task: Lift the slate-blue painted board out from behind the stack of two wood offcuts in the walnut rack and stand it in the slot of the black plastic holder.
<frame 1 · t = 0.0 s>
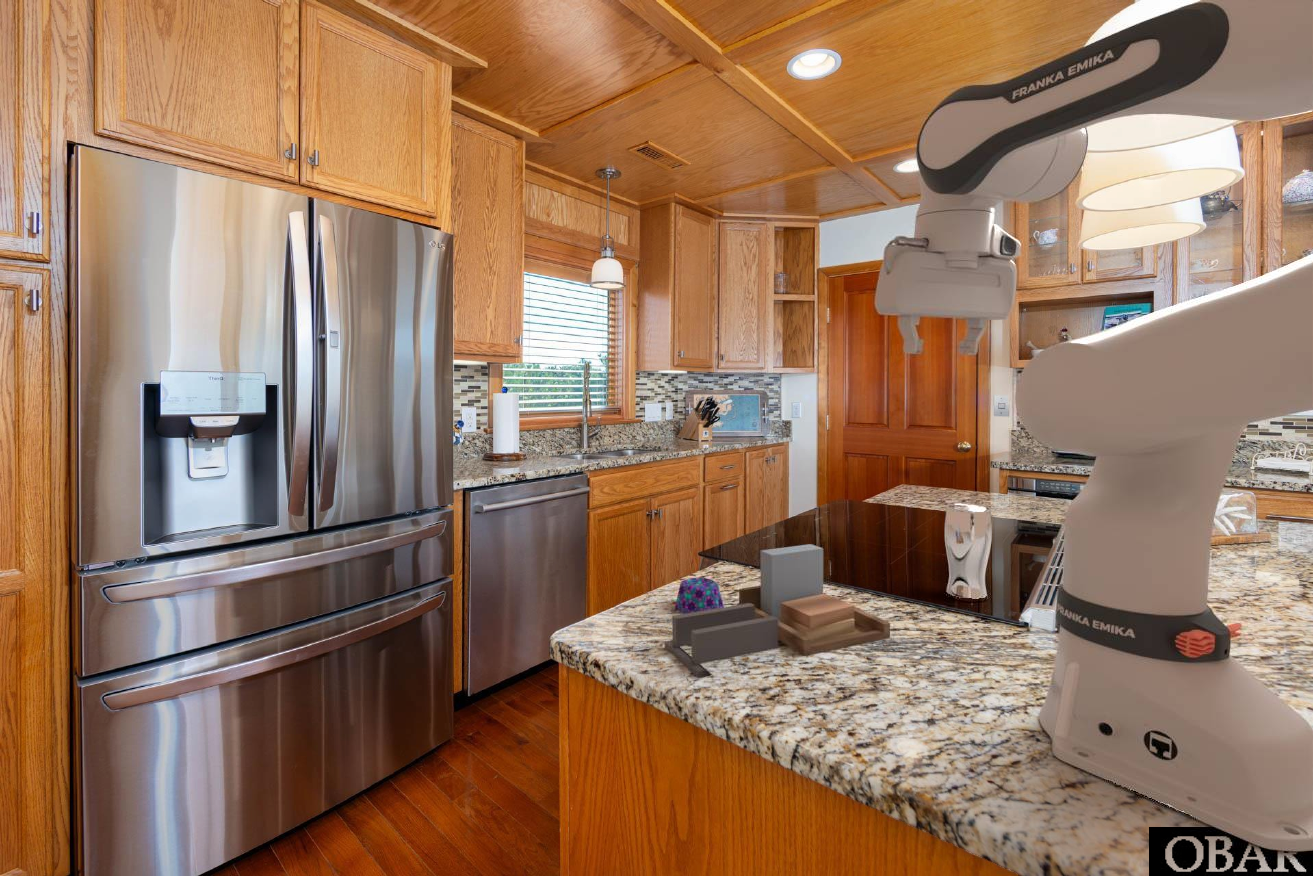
hand: (940, 354, 79), 39 cm above the table, tool pointing down, fingers open, 8 cm apart
beer glass: (966, 597, 103), on the table
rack: (810, 632, 89), on the table
sheet: (791, 615, 93), point 1 cm above the table, touching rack
offcut top: (817, 616, 87), point 3 cm above the table, touching offcut low
offcut low: (817, 629, 87), point 1 cm above the table, touching offcut top, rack
holder: (724, 652, 82), on the table
purple rounded dome: (699, 616, 97), on the table
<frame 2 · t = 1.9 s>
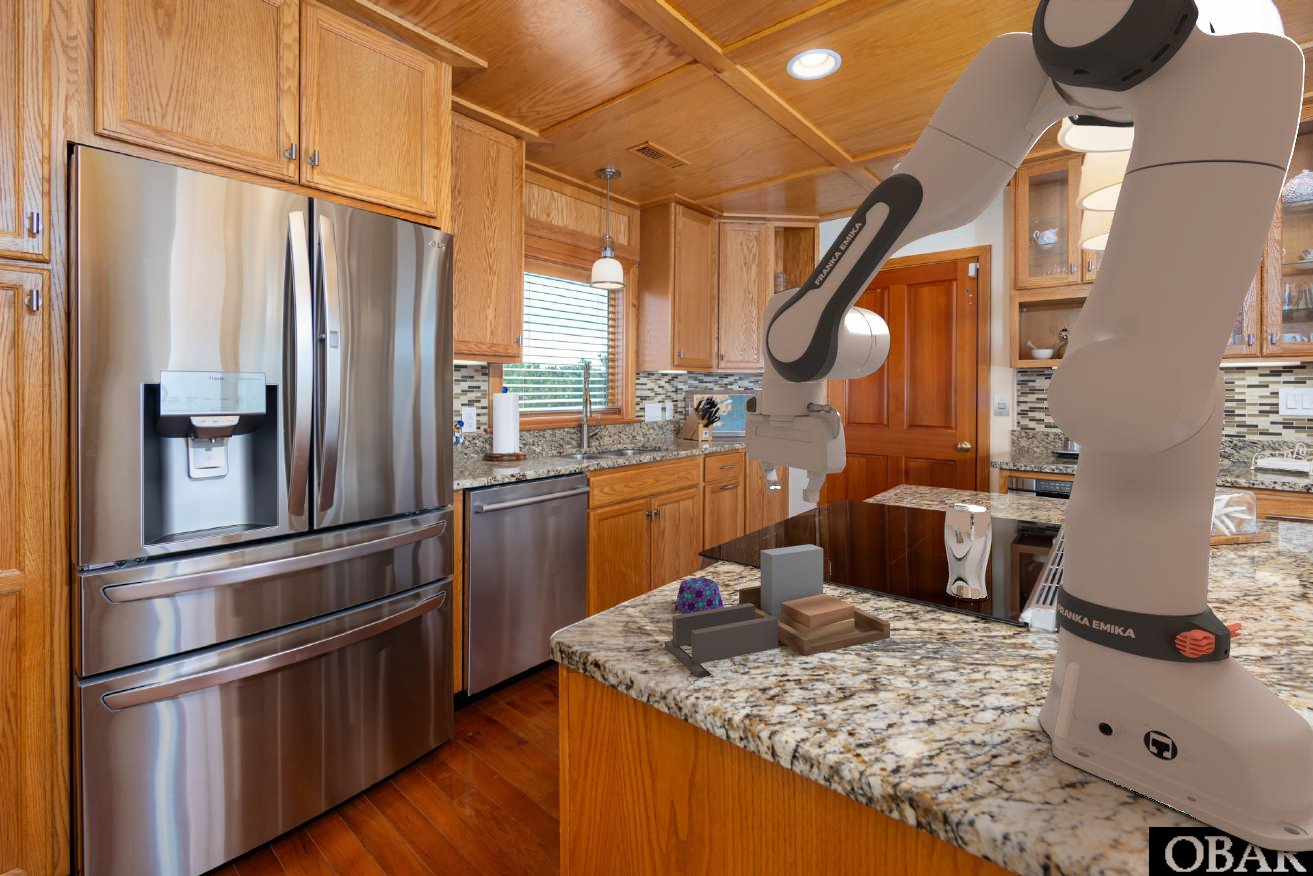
hand: (790, 496, 92), 19 cm above the table, tool pointing down, fingers open, 8 cm apart
nothing on the table moved.
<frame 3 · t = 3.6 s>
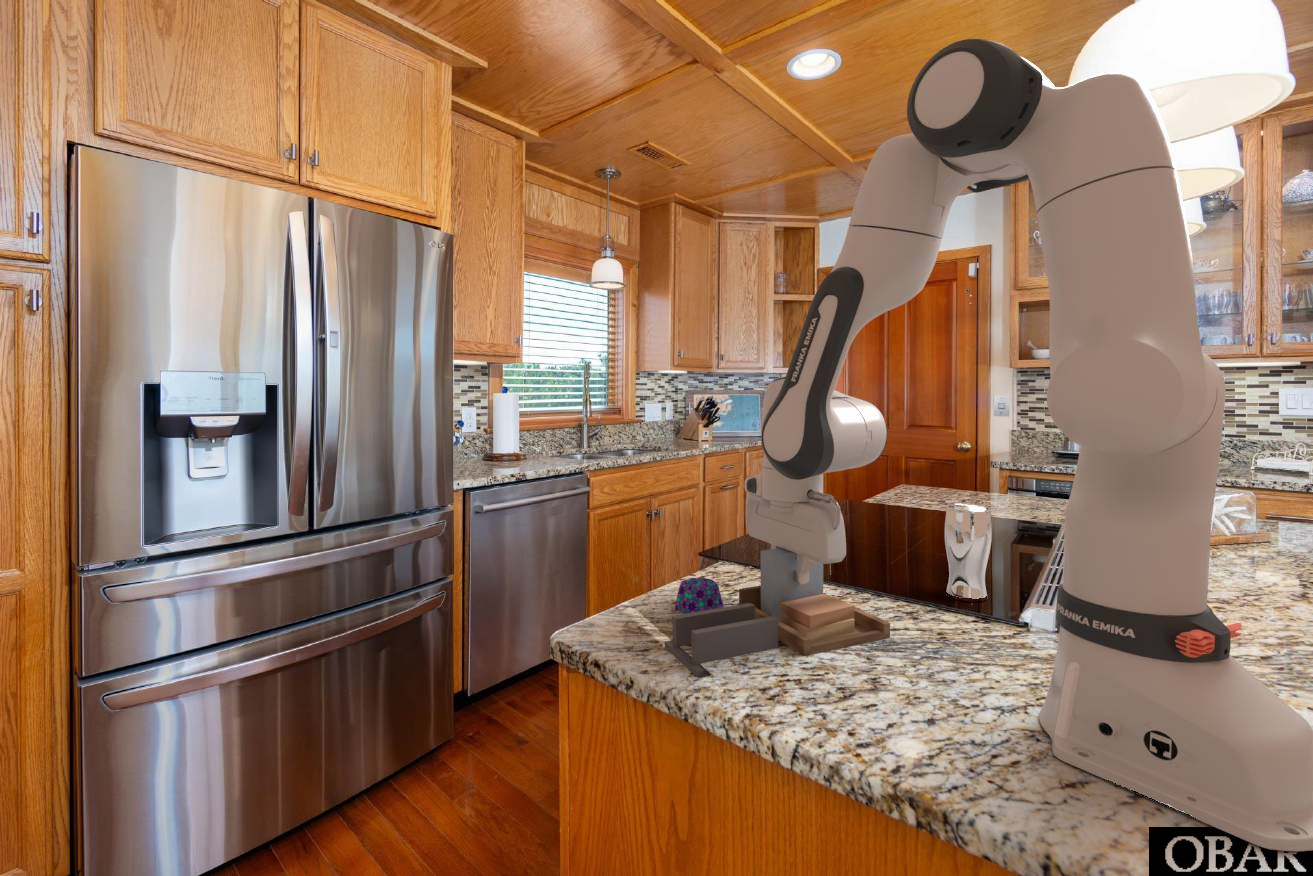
hand: (792, 578, 92), 7 cm above the table, tool pointing down, fingers closed on sheet, 3 cm apart
sheet: (791, 615, 93), point 1 cm above the table, touching gripper, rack
everything else where it was.
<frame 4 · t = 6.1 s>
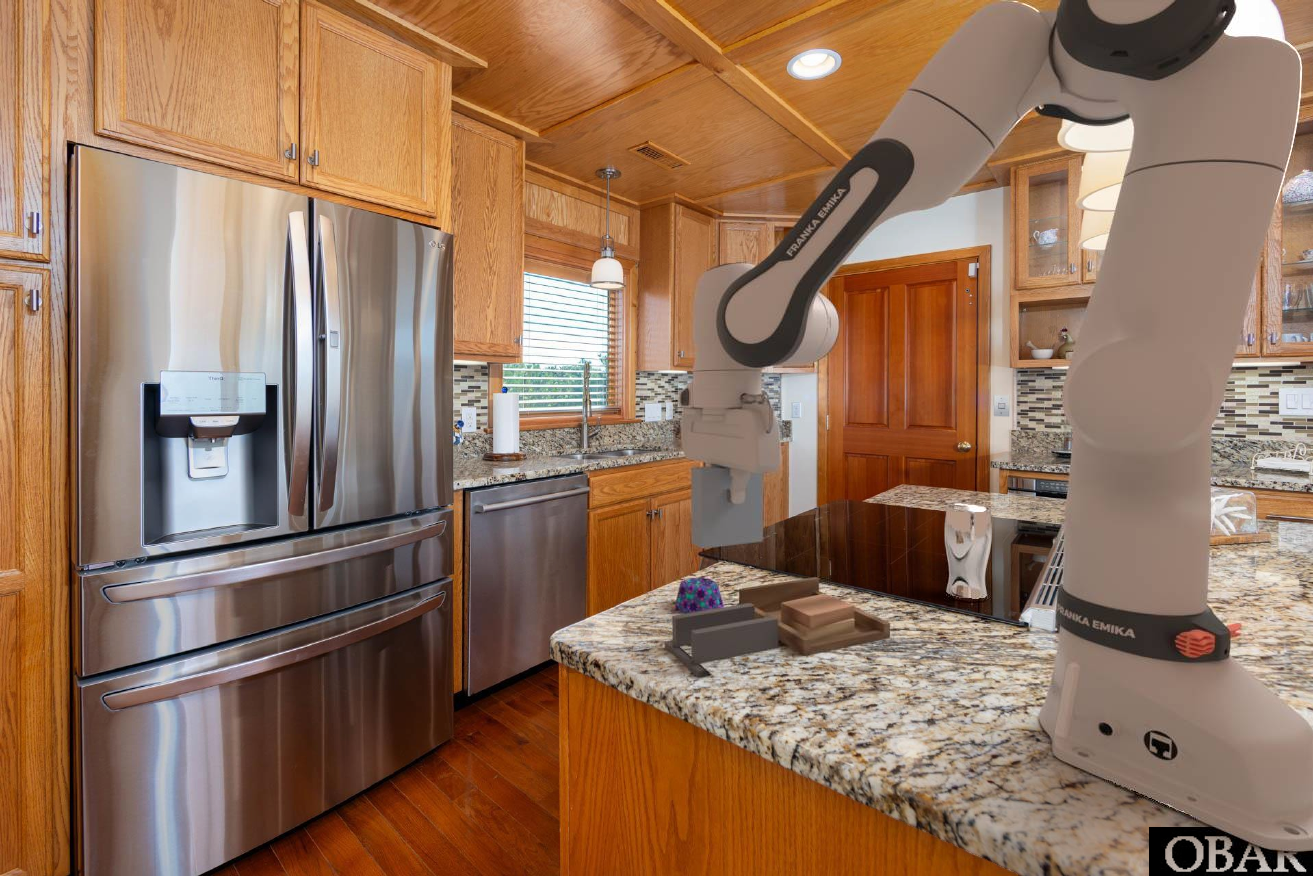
hand: (727, 500, 81), 20 cm above the table, tool pointing down, fingers closed on sheet, 3 cm apart
sheet: (727, 542, 82), point 15 cm above the table, touching gripper
everything else where it was.
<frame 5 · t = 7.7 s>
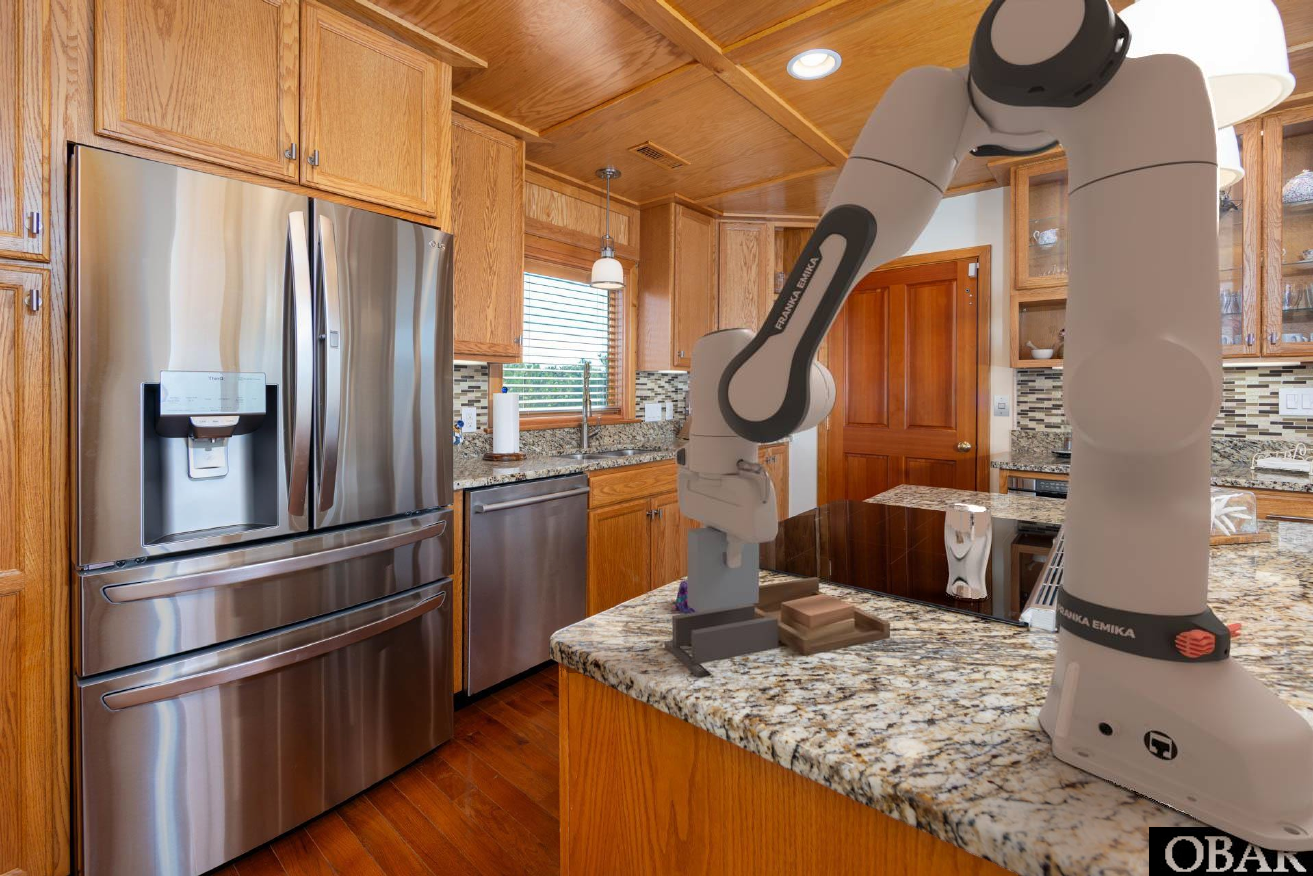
hand: (723, 562, 81), 12 cm above the table, tool pointing down, fingers closed on sheet, 3 cm apart
sheet: (723, 603, 82), point 7 cm above the table, touching gripper
everything else where it was.
when the fingers open (8 cm above the table, at t = 8.8 s): sheet drops 1 cm, resting on holder.
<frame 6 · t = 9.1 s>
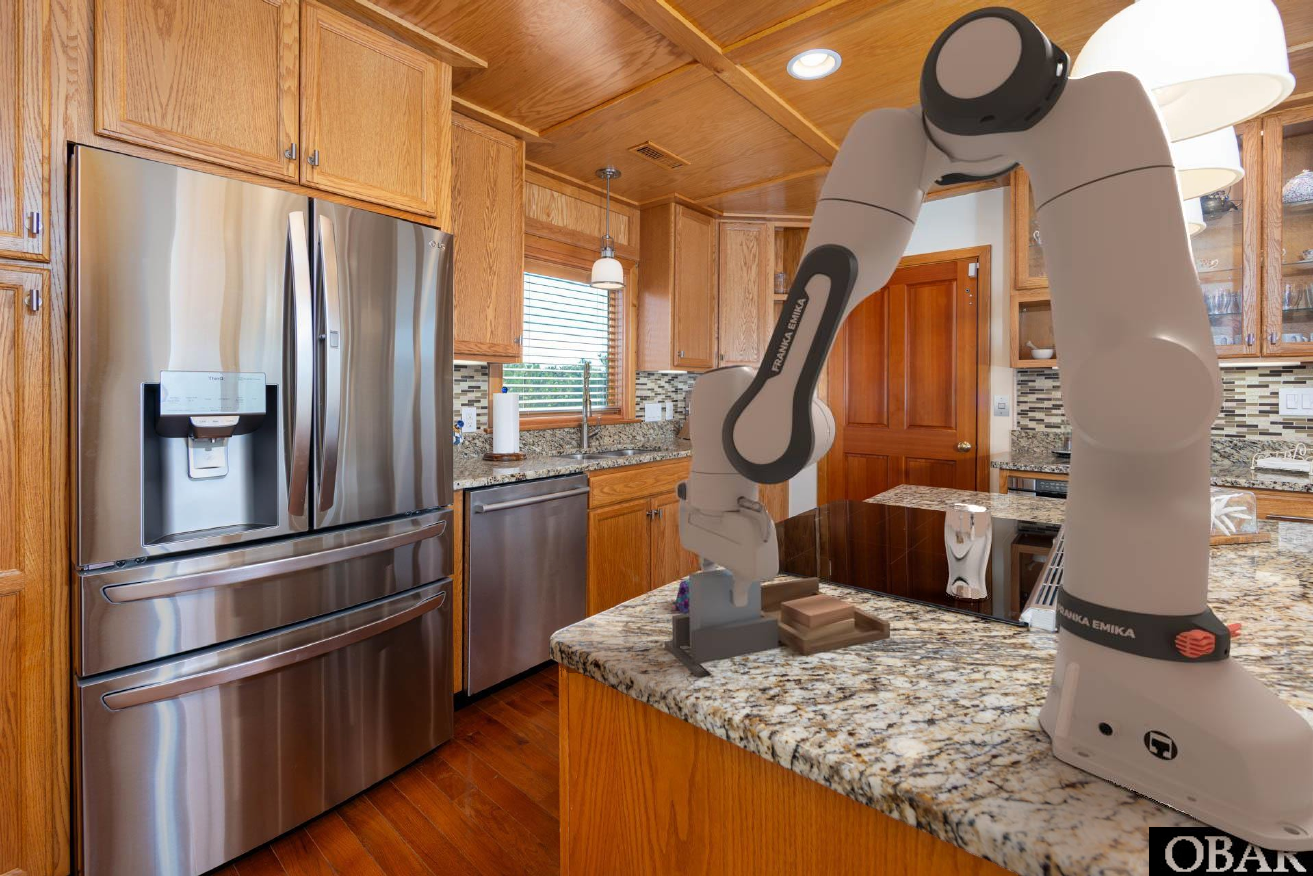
hand: (724, 596, 82), 8 cm above the table, tool pointing down, fingers open, 5 cm apart
sheet: (725, 647, 82), point 1 cm above the table, touching holder
everything else where it was.
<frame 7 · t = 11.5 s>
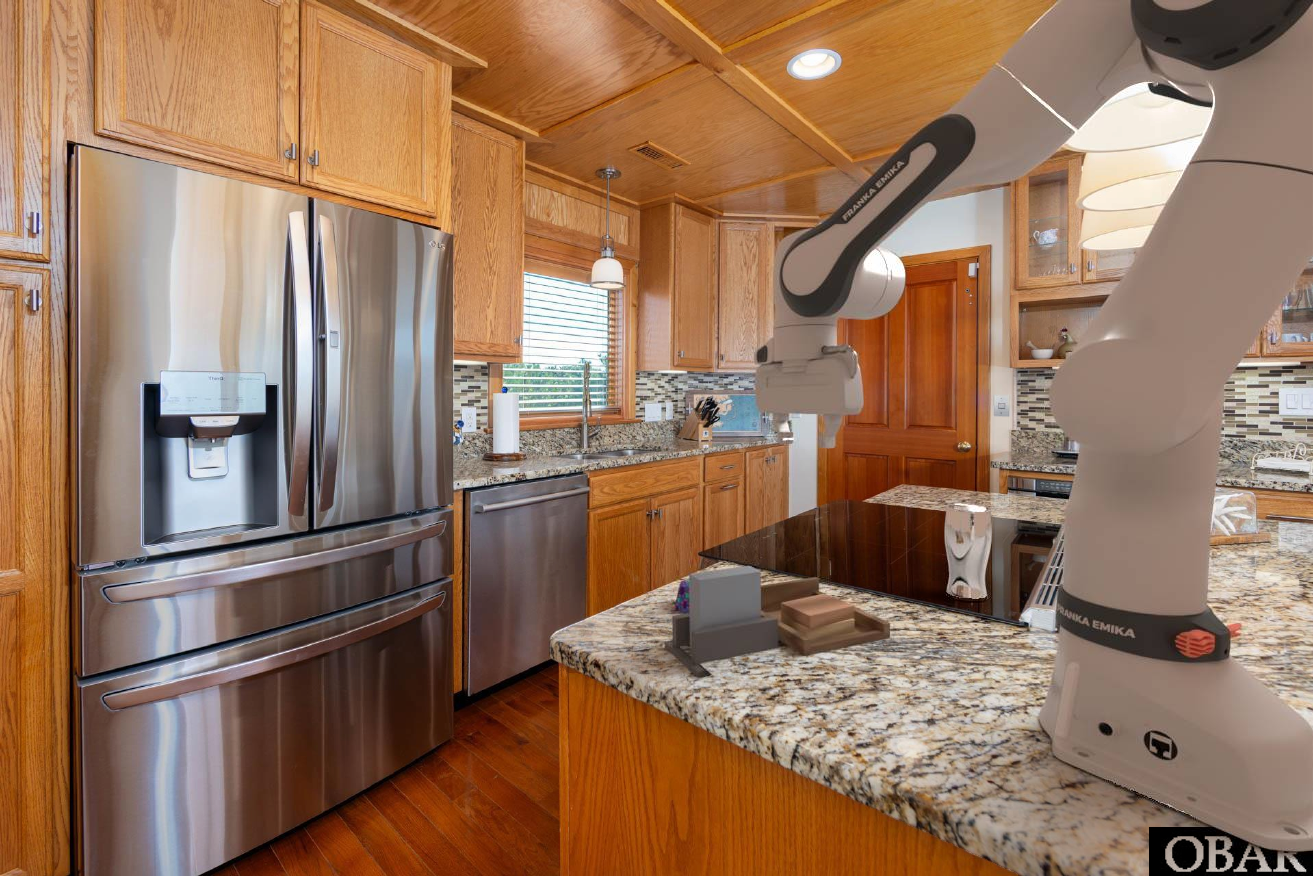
hand: (805, 445, 90), 27 cm above the table, tool pointing down, fingers open, 8 cm apart
nothing on the table moved.
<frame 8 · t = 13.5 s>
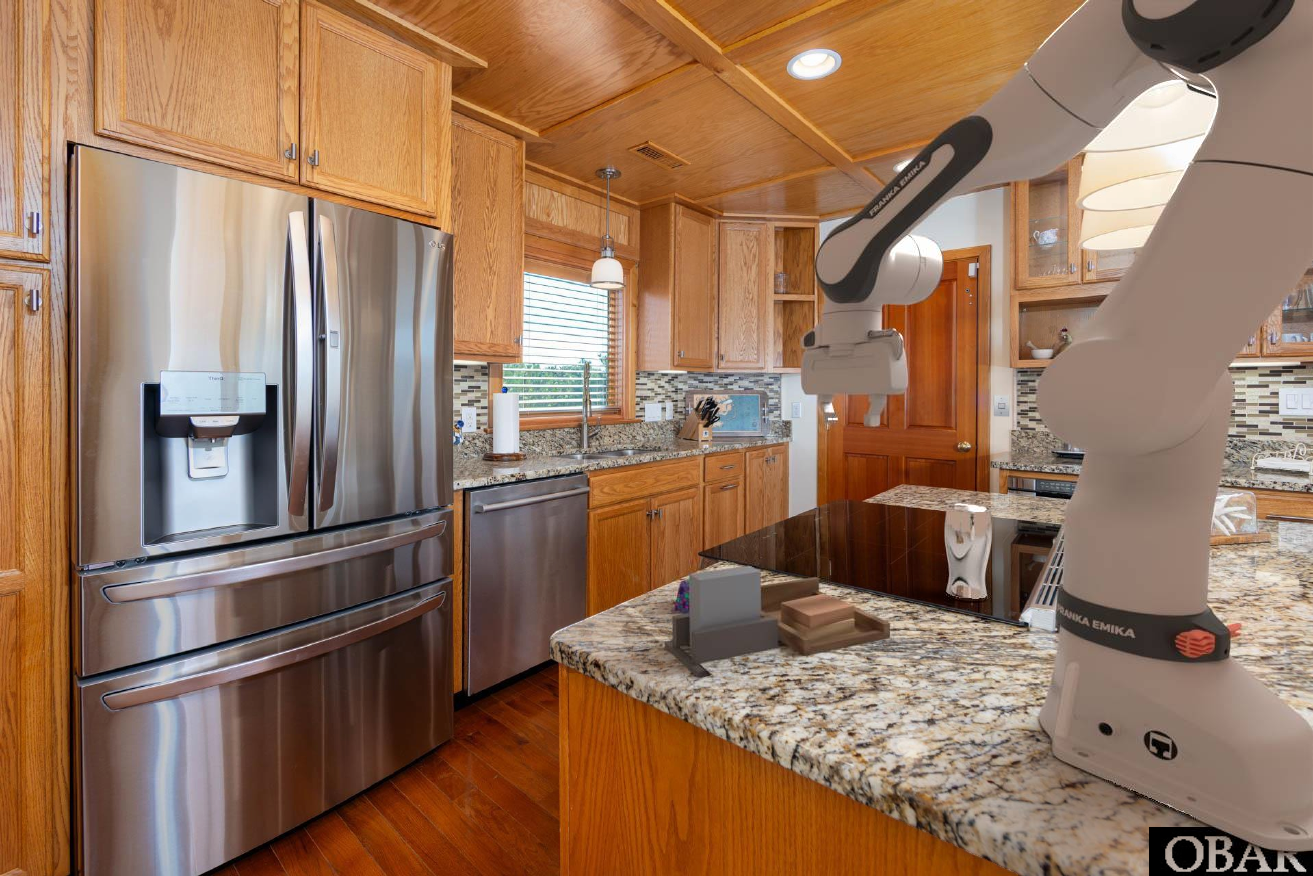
hand: (849, 424, 96), 29 cm above the table, tool pointing down, fingers open, 8 cm apart
nothing on the table moved.
at the end: sheet inside the target area on the holder (0.1 cm from its centre), point 0.8 cm above the holder's base; sheet tilted 0°; offcut top moved 0.1 cm from its start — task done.
